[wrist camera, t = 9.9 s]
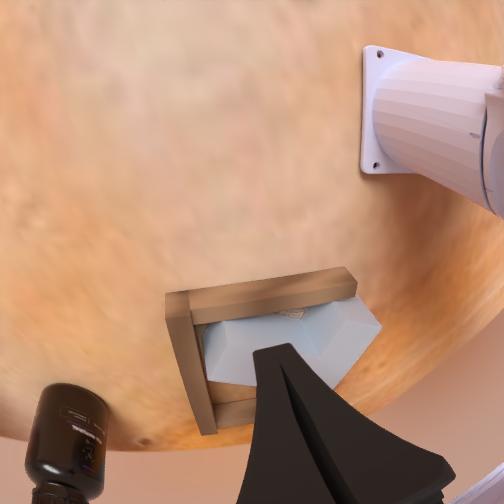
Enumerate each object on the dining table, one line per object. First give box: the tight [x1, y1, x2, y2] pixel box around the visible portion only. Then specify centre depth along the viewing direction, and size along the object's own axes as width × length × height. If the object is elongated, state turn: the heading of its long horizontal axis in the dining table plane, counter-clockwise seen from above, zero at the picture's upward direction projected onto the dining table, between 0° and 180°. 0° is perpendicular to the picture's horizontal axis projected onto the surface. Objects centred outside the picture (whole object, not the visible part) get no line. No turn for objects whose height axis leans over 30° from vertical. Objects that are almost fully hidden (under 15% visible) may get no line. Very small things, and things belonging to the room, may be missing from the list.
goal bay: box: [165, 267, 358, 436], centre depth 23 cm, size 12×14×2 cm
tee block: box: [202, 294, 382, 390], centre depth 22 cm, size 10×10×4 cm
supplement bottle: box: [25, 383, 108, 504], centre depth 18 cm, size 7×7×12 cm
